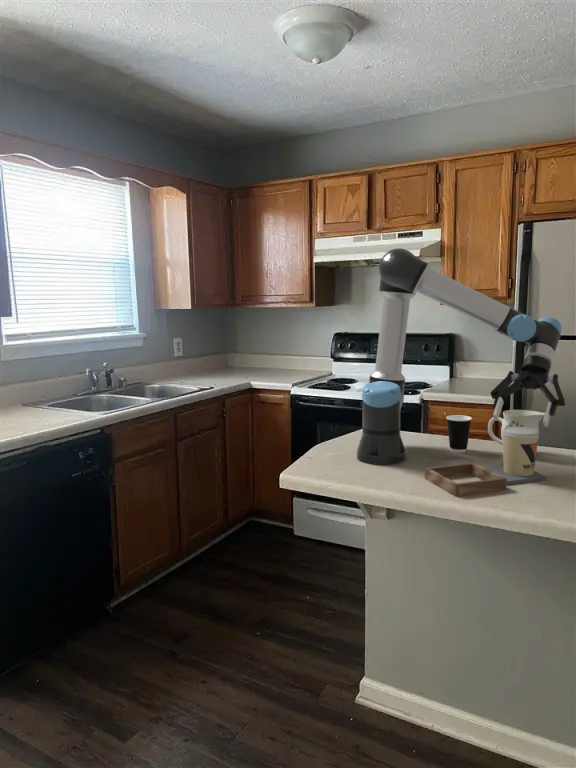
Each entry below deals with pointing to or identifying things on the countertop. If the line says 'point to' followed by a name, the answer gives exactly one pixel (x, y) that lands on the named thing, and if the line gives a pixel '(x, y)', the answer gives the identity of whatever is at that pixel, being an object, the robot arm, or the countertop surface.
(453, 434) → the dixie cup
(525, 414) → the pitcher
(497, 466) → the rubber mat
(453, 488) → the cup holder
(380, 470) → the countertop surface
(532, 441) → the coffee cup
